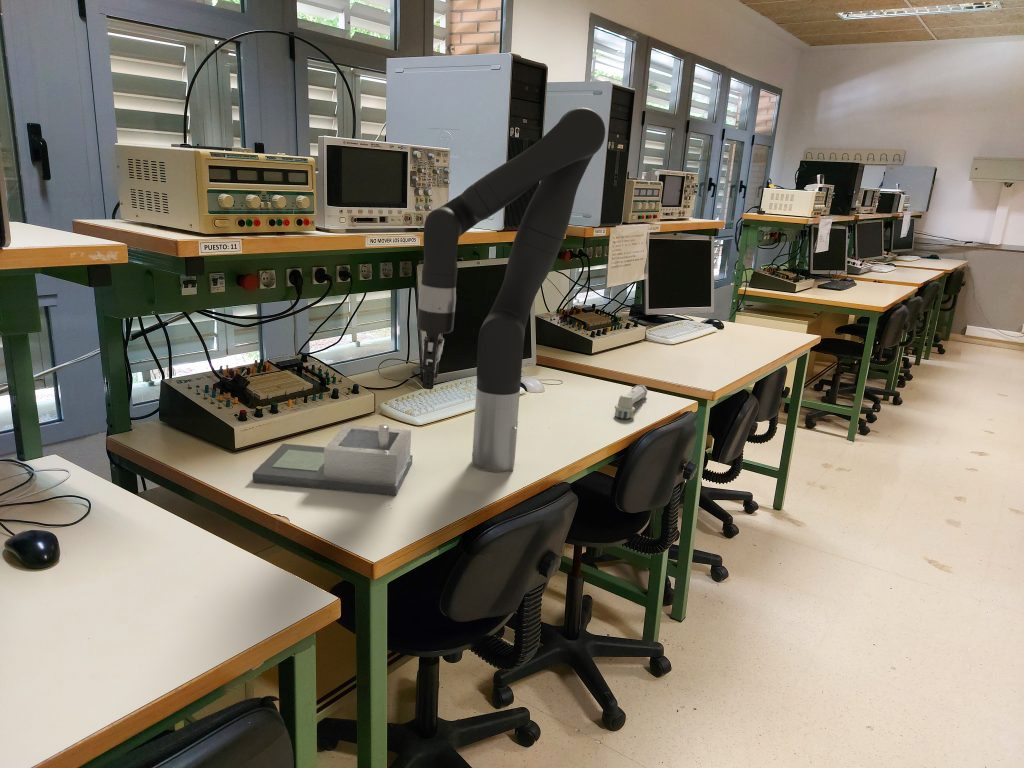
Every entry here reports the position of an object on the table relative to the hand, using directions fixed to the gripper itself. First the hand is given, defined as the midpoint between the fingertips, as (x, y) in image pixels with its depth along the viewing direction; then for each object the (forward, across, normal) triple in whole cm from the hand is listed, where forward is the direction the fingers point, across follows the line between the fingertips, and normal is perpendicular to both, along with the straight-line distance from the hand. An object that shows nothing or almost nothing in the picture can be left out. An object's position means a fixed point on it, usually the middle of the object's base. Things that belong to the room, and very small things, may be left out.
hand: (430, 382), depth 150 cm
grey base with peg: (+18, -10, +16) cm, 27 cm away
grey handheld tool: (+16, +48, -53) cm, 73 cm away
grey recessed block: (+16, -11, +10) cm, 21 cm away
